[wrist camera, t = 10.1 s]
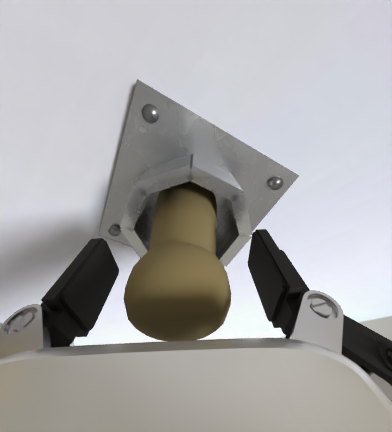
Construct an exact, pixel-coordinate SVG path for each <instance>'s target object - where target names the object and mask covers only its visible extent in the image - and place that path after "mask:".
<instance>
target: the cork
mask: <svg viewBox="0 0 392 432" xmlns="http://www.w3.org/2000/svg"><path fill="white" fill-rule="evenodd" d="M216 223H217V203H216V197H215V195H214V193H213V192H212V191H210V190H208V189H206V188H204V187H202V186H200V185H198V184H196V183H193V182H191V181H188V182H185V183H182V184H179V185H176V186H173V187H170V188H167V189H164V190H161V191H160V192H159V195H158V198H157V201H156V207H155V213H154V220H153V226H152V233H151V239H150V245H149V251H148V252H147V253H146V254H145V255H144V256H143V257H142V258H141V259H140V260H139V261H138V262H137V264H136V265H135V266H134V267H133V269H132V271H131V274H130V276H129V278H128V281H127V284H126V287H125V294H124V303H125V307H126V312H127V316H128V320H129V321H130V322H131V323H132V324H133V326H134V327H135V328H136V329H138V330H139V331H140V332H142V333H144V334H145V335H147V336H149V337H152V338H155V339H157V340H162V341H191V340H198V339H201V338H204V337H206V336H208V335H210V334H211V333H213V332H214V331H216V330H217V329H218V328H219V327H220V326H221V325H222V324H223V323H224V321H225V318H226V316H227V313H228V310H229V307H230V304H231V291H230V285H229V281H228V276H227V273H226V271H225V269H224V267H223V265H222V264H221V262H220V261H219V260H218V258H217V257H216Z"/></svg>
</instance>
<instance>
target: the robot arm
mask: <svg viewBox="0 0 392 432" xmlns="http://www.w3.org/2000/svg"><path fill="white" fill-rule="evenodd" d="M248 267H249V270H250V273H251V275H252V278H253V281H254V283H255V286H256V289H257V291H258V294H259V297H260V300H261V302H262V305H263V308H264V310H265V313H266V316H267V318H268V320H269V321H272V324H273V326H274V328H281V329H282V331H283V333H284V334H285V337H284V338H244V339H216V340H191V341H168V342H146V343H125V344H105V345H85V346H74V342H73V341H74V339H75V337H86V336H87V335H88V333H89V331H90V330H91V329H92V328H93V327H94V325H95V323H96V321H97V319H98V316H99V314H100V312H101V310H102V308H103V306H104V304H105V302H106V299H107V297H108V295H109V293H110V291H111V289H112V287H113V285H114V282H115V280H116V278H117V276H118V274H119V269H118V266H117V264H116V262H115V260H114V257H113V255H112V253H111V251H110V249H109V246H108V244H107V242H106V241H105V240H103V239H102V238H98V239H91V240H90V241H89V242H88V244H87V245H86V246H85V247H84V248H83V250H82V251H81V252H80V253H79V255H78V256H77V257H76V258H75V259H74V261H73V262H72V263H71V264H70V265H69V267H68V268H67V269H66V270H65V271H64V273H63V274H62V275H61V276H60V278H59V279H58V280H57V281H56V282H55V284H54V285H53V286H52V287H51V288H50V290H49V291H48V292H47V293H46V295H45V296H44V297H43V298H42V299H41V300H42V301H43V303H42V304H41V305H38V304H32V305H28V306H26V307H23V308H21V309H20V310H18V311H16V312H15V313H14V314H12V315H11V316H10V317H9V318H8V319H7V320H6V321H5V322H4V323H3V325H2V326H1V328H0V432H392V341H390V340H389V339H387V338H385V337H383V336H381V335H380V334H378V333H376V332H374V331H372V330H370V329H369V328H367V327H365V326H363V325H361V324H360V323H358V322H356V321H354V320H352V319H351V318H349V317H347V316H345V315H343V311H342V309H341V307H340V305H339V304H338V303H337V302H336V301H335V300H334V299H333V298H331V297H330V296H328V295H327V294H325V293H322V292H320V291H314V290H312V291H310V290H309V288H308V287H307V285H306V284H305V282H304V281H303V279H302V278H301V276H300V275H299V273H298V272H297V271H296V269H295V268H294V266H293V265H292V263H291V262H290V260H289V259H288V257H287V256H286V254H285V253H284V251H282V250H279V248H278V247H277V245H276V244H275V242H274V241H273V239H272V237H271V236H270V234H269V233H268V231H267V230H266V229H262V230H256V231H255V232H253V234H252V240H251V246H250V253H249V259H248Z"/></svg>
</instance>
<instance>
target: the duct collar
mask: <svg viewBox="0 0 392 432" xmlns="http://www.w3.org/2000/svg"><path fill="white" fill-rule="evenodd" d="M298 177H299V175H297V174H295V173H294V172H292V171H290V170H289V169H287V168H285V167H284V166H282V165H280V164H279V163H277V162H275V161H273V160H272V159H270V158H268V157H267V156H265V155H263V154H262V153H260V152H258V151H257V150H255V149H253V148H252V147H250V146H248V145H247V144H245V143H243V142H242V141H240V140H238V139H237V138H235V137H233V136H232V135H230V134H228V133H227V132H225V131H223V130H221V129H220V128H218V127H216V126H215V125H213V124H211V123H210V122H208V121H206V120H205V119H203V118H201V117H200V116H198V115H196V114H195V113H193V112H191V111H190V110H188V109H186V108H185V107H183V106H181V105H180V104H178V103H176V102H175V101H173V100H171V99H169V98H168V97H166V96H164V95H163V94H161V93H159V92H158V91H156V90H154V89H153V88H151V87H149V86H148V85H146V84H144V83H143V82H141V81H139V80H138V79H137V82H136V86H135V90H134V94H133V98H132V102H131V106H130V110H129V114H128V118H127V122H126V126H125V130H124V134H123V139H122V143H121V147H120V151H119V155H118V159H117V163H116V167H115V171H114V175H113V179H112V183H111V187H110V191H109V195H108V199H107V203H106V207H105V211H104V215H103V219H102V223H101V227H100V231H99V235H100V236H103V237H106V238H109V239H112V240H115V241H118V242H120V243H123V244H126V245H129V246H132V247H133V249H134V250H135V251H136V253H137V254H138V256H139V257H140V259H141V258H142V257H143V256H144V255H145V254H146V253H147V252H148V251H149V245H150V239H151V233H152V226H153V220H154V213H155V207H156V201H157V198H158V195H159V192H160V191H161V190H164V189H167V188H170V187H173V186H176V185H179V184H182V183H185V182H188V181H191V182H193V183H196V184H198V185H200V186H202V187H204V188H206V189H208V190H210V191H212V192H213V193H214V195H215V197H216V203H217V223H216V257H217V258H218V260H219V261H220V262H221V264H222V265H223V267H224V265H225V266H227V265H228V264H229V263H230V262H231V260H232V259H233V258H234V257H235V256H236V255H237V253H238V252H239V251H240V250H241V249H242V248H243V246H244V245H245V244H246V243H247V242H248V241H249V239H250V238H251V235H252V231H253V230H254V229H255V228H256V226H257V225H258V224H259V223H260V222H261V220H262V219H263V218H264V217H265V216H266V215H267V213H268V212H269V211H270V210H271V209H272V207H273V206H274V205H275V204H276V203H277V201H278V200H279V199H280V198H281V197H282V196H283V194H284V193H285V192H286V191H287V190H288V188H289V187H290V186H291V185H292V184H293V182H294V181H295V180H296V179H297V178H298Z"/></svg>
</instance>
